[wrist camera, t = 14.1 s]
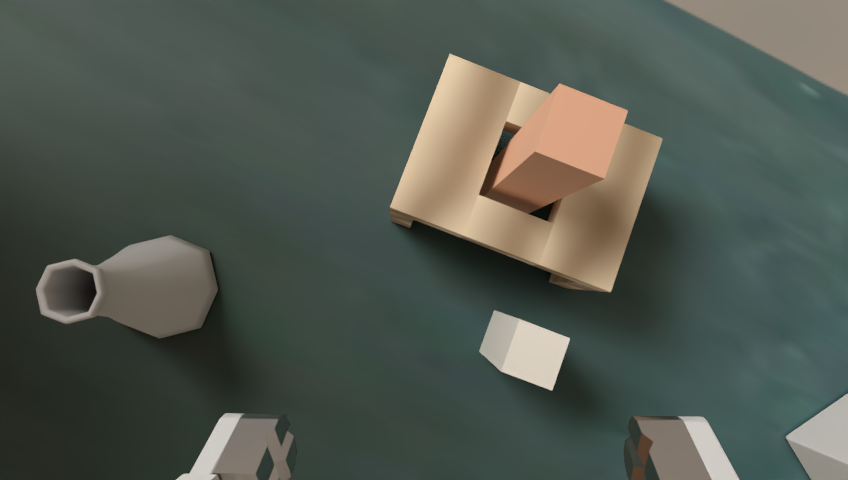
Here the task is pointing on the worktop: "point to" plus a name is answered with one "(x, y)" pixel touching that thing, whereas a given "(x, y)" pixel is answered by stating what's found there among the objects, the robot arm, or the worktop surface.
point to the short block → (524, 349)
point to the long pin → (555, 151)
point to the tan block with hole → (500, 224)
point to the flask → (135, 287)
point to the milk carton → (824, 443)
